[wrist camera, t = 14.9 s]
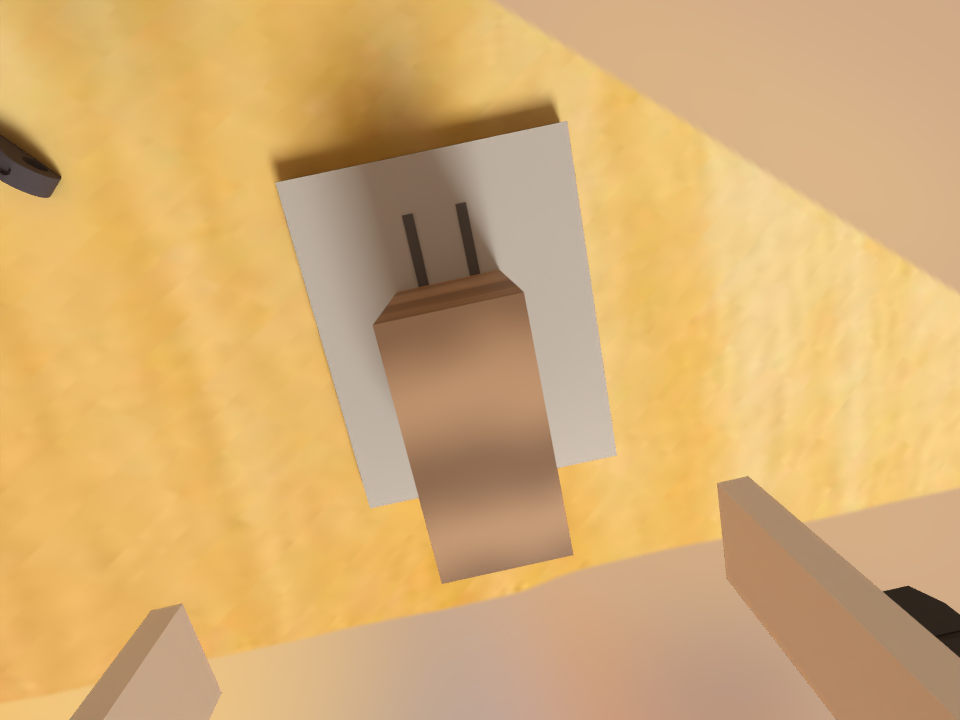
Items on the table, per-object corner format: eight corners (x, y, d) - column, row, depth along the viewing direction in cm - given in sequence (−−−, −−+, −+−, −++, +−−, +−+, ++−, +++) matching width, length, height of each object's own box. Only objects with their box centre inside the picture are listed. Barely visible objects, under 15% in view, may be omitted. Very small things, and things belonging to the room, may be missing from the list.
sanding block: (396, 292, 30) (372, 325, 20) (499, 269, 30) (523, 292, 20) (443, 478, 33) (442, 583, 24) (536, 458, 33) (573, 554, 24)
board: (283, 184, 30) (274, 182, 28) (561, 125, 30) (567, 120, 28) (373, 496, 35) (369, 508, 33) (609, 445, 35) (617, 455, 34)
